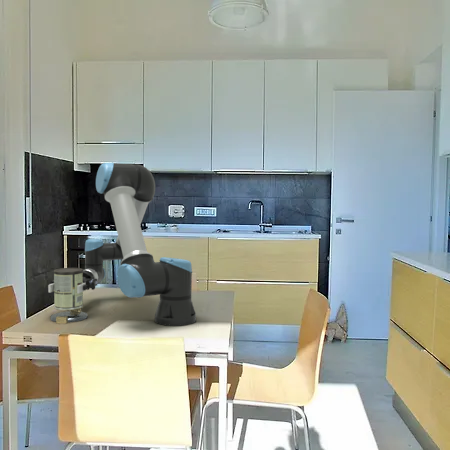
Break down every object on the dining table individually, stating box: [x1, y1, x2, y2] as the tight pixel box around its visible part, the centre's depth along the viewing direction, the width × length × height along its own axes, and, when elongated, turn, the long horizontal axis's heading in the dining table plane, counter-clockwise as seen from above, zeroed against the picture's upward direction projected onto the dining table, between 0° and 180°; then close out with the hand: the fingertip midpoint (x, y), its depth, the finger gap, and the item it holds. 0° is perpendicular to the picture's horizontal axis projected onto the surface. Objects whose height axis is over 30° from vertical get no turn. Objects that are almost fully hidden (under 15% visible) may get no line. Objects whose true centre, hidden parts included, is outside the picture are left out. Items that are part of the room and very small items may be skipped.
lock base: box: [50, 308, 88, 325], centre depth 174 cm, size 16×13×2 cm
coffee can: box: [53, 267, 84, 311], centre depth 173 cm, size 10×10×14 cm
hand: (63, 289), depth 169 cm, fingers closed on coffee can, 10 cm apart
